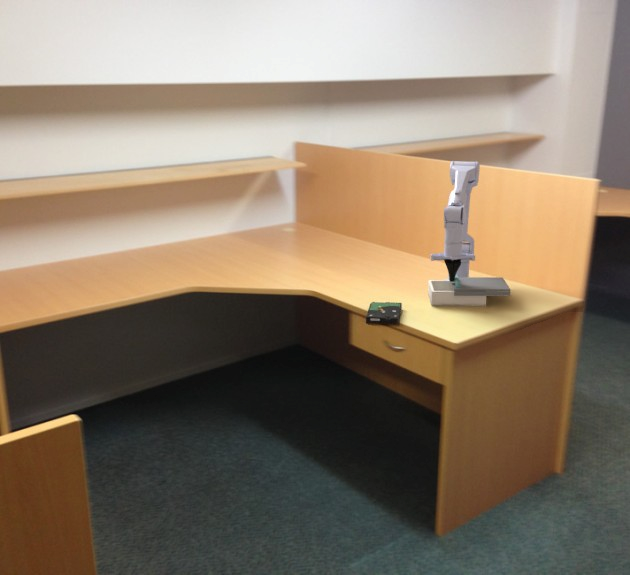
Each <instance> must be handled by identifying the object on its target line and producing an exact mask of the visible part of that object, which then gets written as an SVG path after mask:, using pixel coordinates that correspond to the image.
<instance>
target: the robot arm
mask: <svg viewBox="0 0 630 575" xmlns="http://www.w3.org/2000/svg"><path fill="white" fill-rule="evenodd" d="M480 170H481V169H480V162H479V161H462V160H461V161H458V160H457V161H456V160H452V161H451V162H450V164H449V177H450V182H451V185H452V186H454V189H453V190H452V191H451V192H450V193H449V197H448V201H447V206H445V207H444V210H443V221H444V222H443V223H444V224H443V228H444V246H443V247H444V251H443V252H442V253H441V252H439V253H430V261H431V262H435V261H444V264H445V266H446V268H447V272H448V277H446V278H445V280H450V282H454V279H455V275H456V274H457V276H458V277H470V261H472V262H475V261H476V254H475V240H474V238H473V237H472V236H471V235H470V234H469V233H468V228H469V227H468V226H469V216H470V215H469V214H470V203H471V202H470V201H471V193H472V190H473V188H475V187H477V186H478V184H479V176H480Z"/></svg>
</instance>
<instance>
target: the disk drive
mask: <svg viewBox="0 0 630 575" xmlns="http://www.w3.org/2000/svg"><path fill="white" fill-rule="evenodd" d="M402 305H403V304H402V302H389V301H386V302H377V301H371V302H370V304H369V307H368V308H367V313H366V316H365V323H366V324H377V325H379V324H380V325H399V323H400V319H401V318H400V317H401V314H402V307H403V306H402Z"/></svg>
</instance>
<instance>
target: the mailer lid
mask: <svg viewBox="0 0 630 575" xmlns="http://www.w3.org/2000/svg"><path fill="white" fill-rule="evenodd" d="M451 284H452V287H453V290H454V296H486V297H490V296H492V297H495V296H496V297H497V296H499V297H504V296H505V297H506V296H507V297H511V294H512V293H511V288H510V287H509V285H508V282H506V280H505V279H504V277H499V276H498V277H494V276H491V277H488V276H487V277H480V276H478V277H477V276H476V277H475V276H474V277H471V276H469V277H458V276H457V274H456V275H455V279H454V282H451Z"/></svg>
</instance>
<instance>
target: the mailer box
mask: <svg viewBox="0 0 630 575" xmlns="http://www.w3.org/2000/svg"><path fill="white" fill-rule="evenodd" d="M427 282H428V284H427V285H428V286H427V287H428V288H427V289H428V290H427V294H428V299H429V303H430V306H432V307H486V306H487V296H454V290H453V287H452V284H451V282H450V280H446V279H429V280H428V281H427Z"/></svg>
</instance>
